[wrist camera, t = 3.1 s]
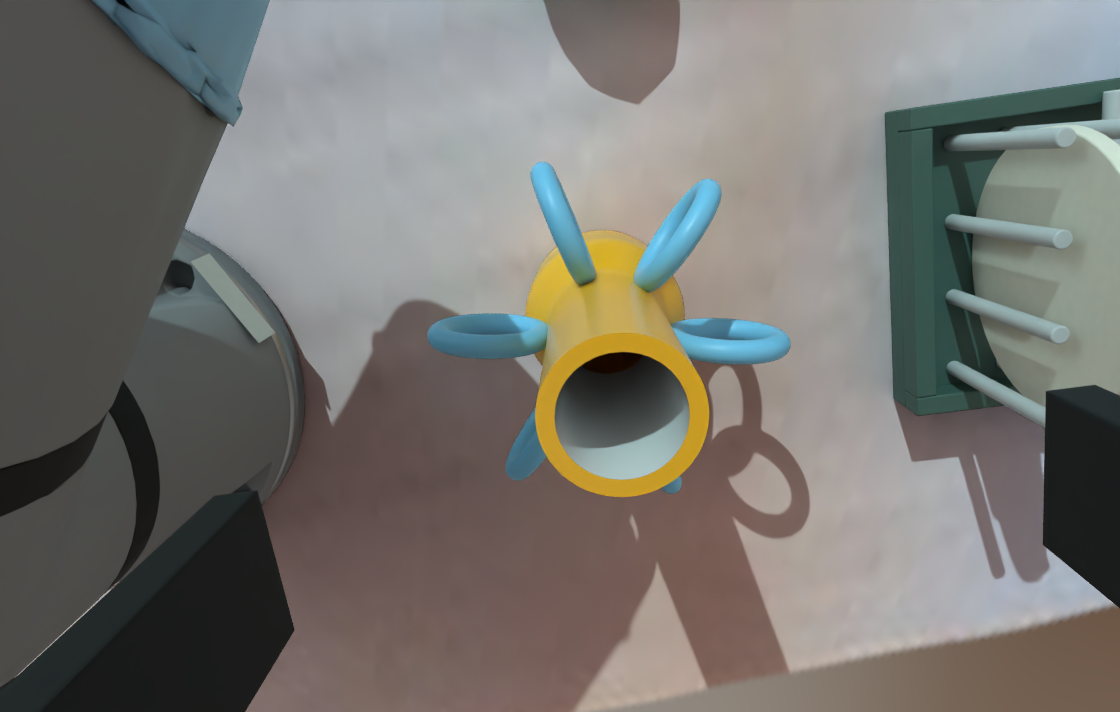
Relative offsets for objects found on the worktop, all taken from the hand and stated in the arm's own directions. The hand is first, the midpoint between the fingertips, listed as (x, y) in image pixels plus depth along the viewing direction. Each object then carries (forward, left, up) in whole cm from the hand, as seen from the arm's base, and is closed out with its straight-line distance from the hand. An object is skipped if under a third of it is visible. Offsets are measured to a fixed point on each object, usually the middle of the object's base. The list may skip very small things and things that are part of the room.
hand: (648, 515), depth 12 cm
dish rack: (+23, 0, -20) cm, 30 cm away
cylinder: (0, 0, -20) cm, 20 cm away
